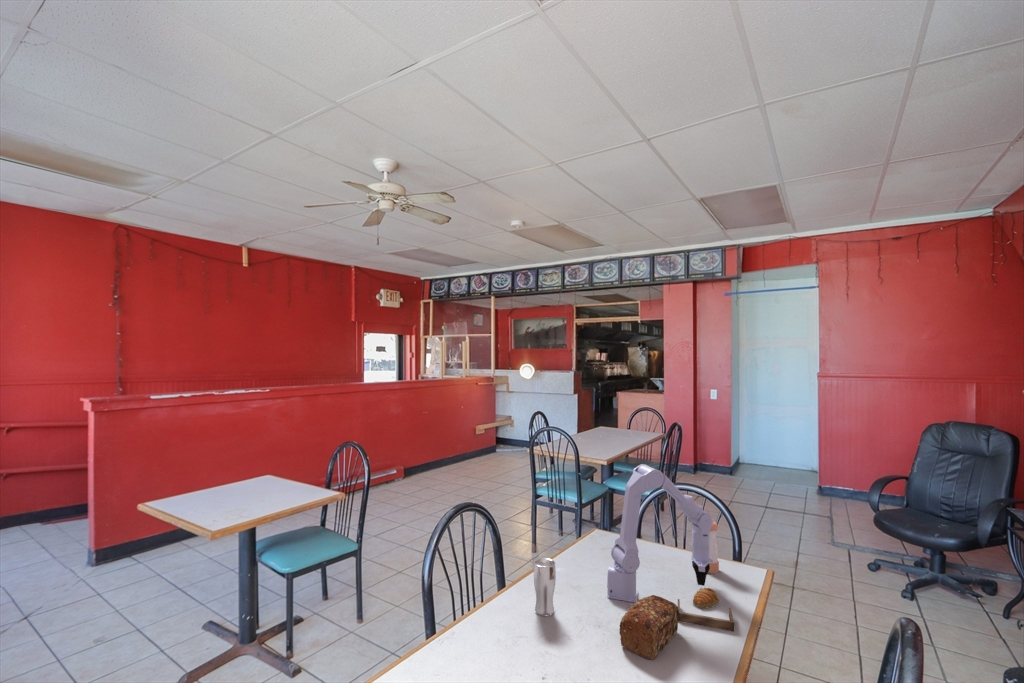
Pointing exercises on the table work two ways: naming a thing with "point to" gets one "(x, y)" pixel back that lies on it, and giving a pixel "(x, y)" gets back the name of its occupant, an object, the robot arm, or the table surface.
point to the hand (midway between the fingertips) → (700, 584)
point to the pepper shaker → (713, 549)
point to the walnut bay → (707, 620)
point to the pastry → (705, 598)
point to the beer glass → (544, 585)
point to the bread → (649, 626)
